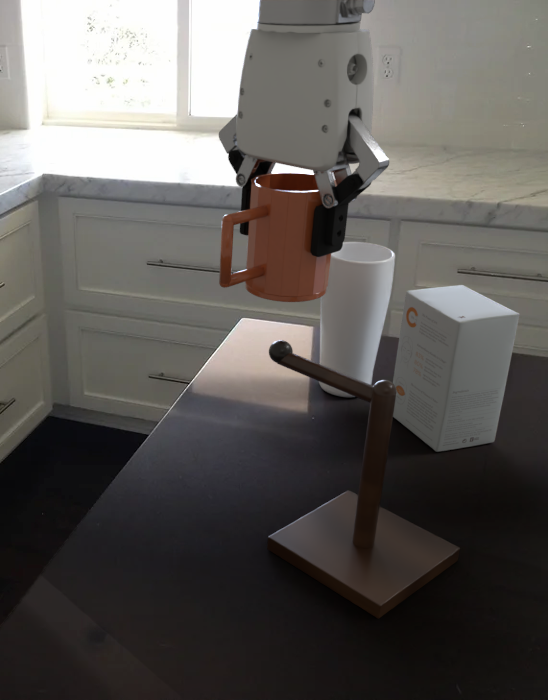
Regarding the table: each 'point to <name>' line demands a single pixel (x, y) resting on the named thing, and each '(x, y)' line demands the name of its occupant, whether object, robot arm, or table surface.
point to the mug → (278, 240)
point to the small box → (452, 366)
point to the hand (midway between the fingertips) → (289, 240)
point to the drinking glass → (355, 310)
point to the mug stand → (361, 515)
